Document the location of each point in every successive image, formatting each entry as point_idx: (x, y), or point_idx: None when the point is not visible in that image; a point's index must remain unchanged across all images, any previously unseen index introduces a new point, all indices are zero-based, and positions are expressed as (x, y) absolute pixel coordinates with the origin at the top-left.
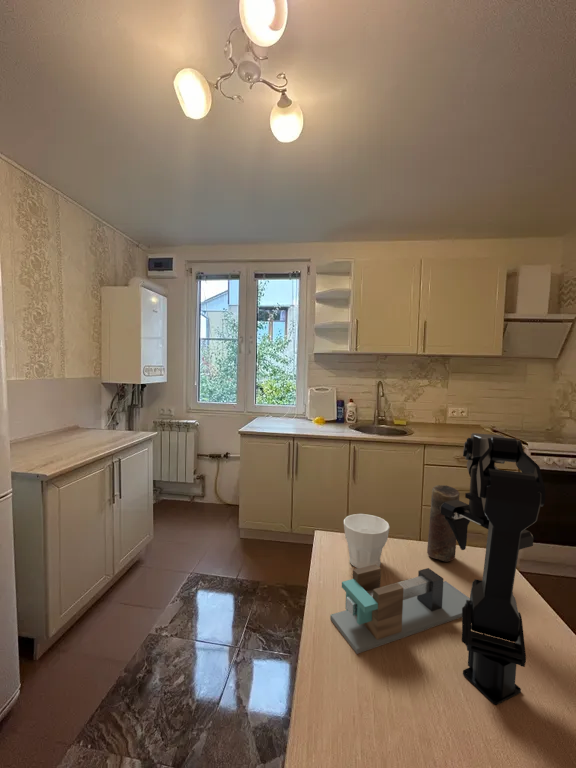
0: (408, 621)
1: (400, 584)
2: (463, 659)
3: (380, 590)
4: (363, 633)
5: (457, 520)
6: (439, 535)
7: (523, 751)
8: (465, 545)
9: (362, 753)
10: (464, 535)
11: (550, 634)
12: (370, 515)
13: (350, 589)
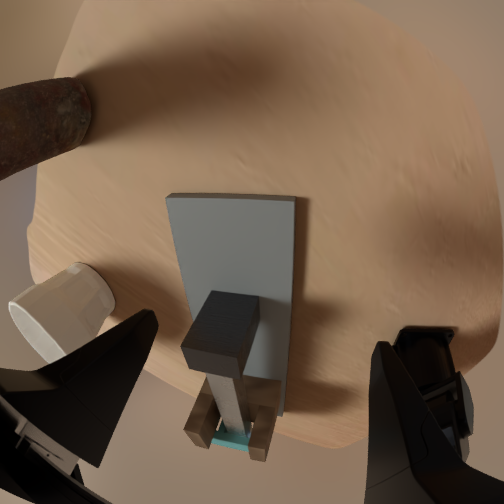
0: (266, 363)
1: (223, 403)
2: (368, 344)
3: (257, 458)
4: None
5: (78, 456)
6: (23, 164)
7: (461, 371)
8: (141, 324)
9: (361, 436)
10: (109, 369)
11: (443, 112)
12: (10, 309)
13: (226, 446)
